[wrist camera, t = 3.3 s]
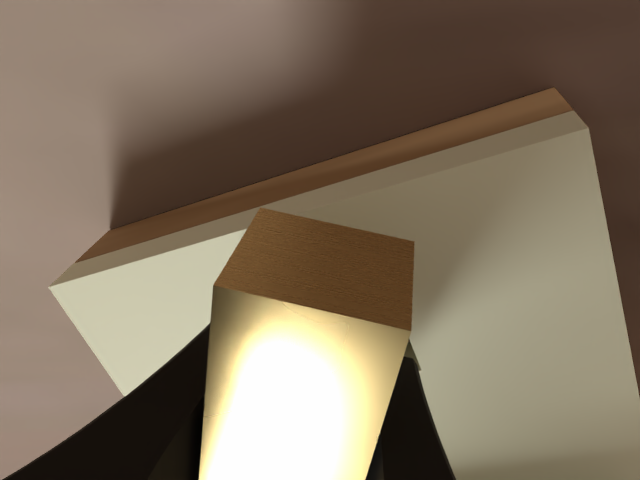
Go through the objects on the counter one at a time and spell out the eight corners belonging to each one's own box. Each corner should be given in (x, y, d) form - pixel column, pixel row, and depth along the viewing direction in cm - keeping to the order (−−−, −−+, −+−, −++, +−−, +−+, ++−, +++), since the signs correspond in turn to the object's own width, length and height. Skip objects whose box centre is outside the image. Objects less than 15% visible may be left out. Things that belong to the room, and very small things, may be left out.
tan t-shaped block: (418, 136, 12) (410, 331, 6) (355, 379, 15) (312, 648, 9) (316, 115, 12) (212, 284, 6) (277, 360, 15) (189, 614, 10)
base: (648, 536, 16) (668, 591, 15) (310, 562, 20) (302, 608, 18) (554, 87, 11) (573, 109, 9) (108, 230, 14) (74, 262, 13)
